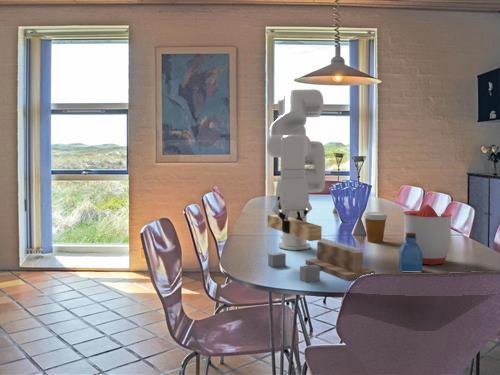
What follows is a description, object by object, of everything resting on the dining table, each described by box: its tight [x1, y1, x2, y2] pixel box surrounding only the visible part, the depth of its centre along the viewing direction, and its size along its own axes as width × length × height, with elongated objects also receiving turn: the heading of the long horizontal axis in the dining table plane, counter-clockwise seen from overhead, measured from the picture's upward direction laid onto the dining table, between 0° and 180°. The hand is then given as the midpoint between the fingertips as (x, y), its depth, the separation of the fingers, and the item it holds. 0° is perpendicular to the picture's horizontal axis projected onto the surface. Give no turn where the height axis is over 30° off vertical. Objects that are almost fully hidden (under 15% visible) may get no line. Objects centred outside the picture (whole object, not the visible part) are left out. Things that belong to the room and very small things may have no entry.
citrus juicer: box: [403, 204, 453, 266], centre depth 161 cm, size 16×17×20 cm
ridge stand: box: [305, 238, 376, 281], centre depth 150 cm, size 22×11×8 cm, turn 26°
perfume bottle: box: [398, 233, 423, 272], centre depth 149 cm, size 6×6×12 cm
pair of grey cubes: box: [267, 251, 321, 283], centre depth 147 cm, size 23×5×4 cm, turn 26°
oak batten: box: [267, 213, 323, 242], centre depth 147 cm, size 26×4×4 cm, turn 26°
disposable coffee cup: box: [363, 211, 388, 244], centre depth 197 cm, size 10×10×12 cm
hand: (292, 231), depth 147 cm, fingers closed on oak batten, 4 cm apart
